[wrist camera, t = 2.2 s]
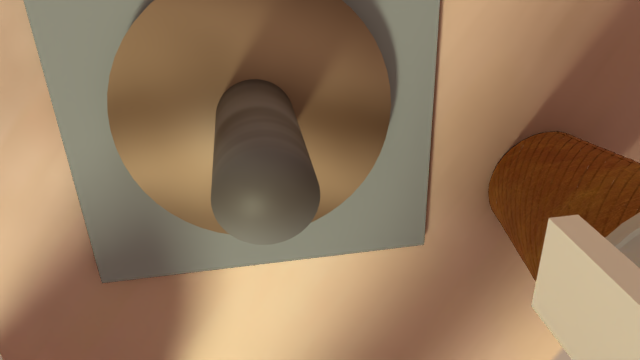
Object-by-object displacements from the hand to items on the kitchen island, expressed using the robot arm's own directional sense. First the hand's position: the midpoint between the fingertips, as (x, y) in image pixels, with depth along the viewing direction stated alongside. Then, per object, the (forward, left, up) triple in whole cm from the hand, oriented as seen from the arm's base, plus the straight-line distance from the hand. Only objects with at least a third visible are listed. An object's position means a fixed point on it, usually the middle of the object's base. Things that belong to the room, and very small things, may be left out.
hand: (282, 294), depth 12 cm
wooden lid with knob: (0, 0, -14) cm, 14 cm away
